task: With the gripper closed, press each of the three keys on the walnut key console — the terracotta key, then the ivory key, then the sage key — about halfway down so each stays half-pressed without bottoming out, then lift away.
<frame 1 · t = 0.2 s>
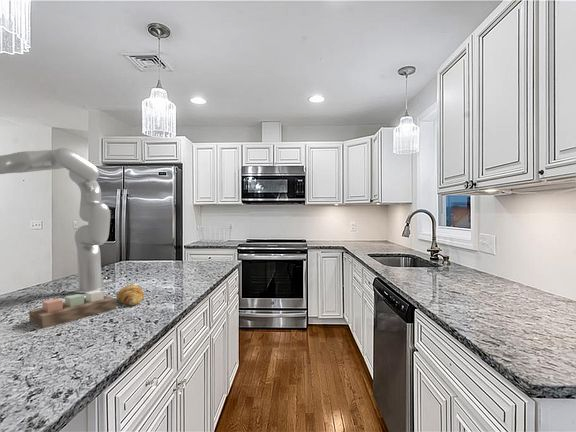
ivory key: (94, 297, 127), point 5 cm above the counter, slide at 0.0 cm
croissant: (130, 301, 138), on the counter
console: (75, 315, 121), on the counter
sage key: (74, 301, 121), point 5 cm above the counter, slide at 0.0 cm
terracotta key: (52, 306, 115), point 5 cm above the counter, slide at 0.0 cm
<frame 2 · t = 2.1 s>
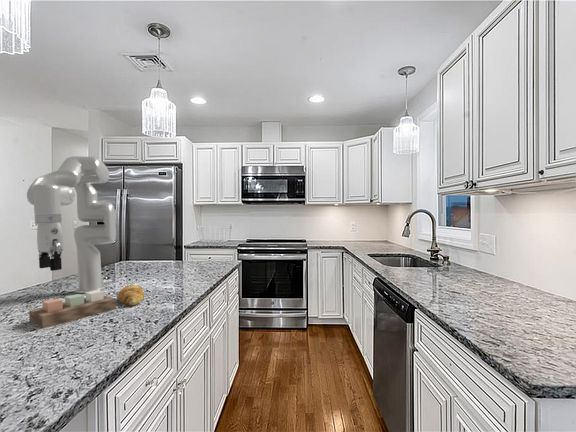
hand: (50, 268, 115), 18 cm above the counter, tool pointing down, fingers open, 9 cm apart
nothing on the counter moved.
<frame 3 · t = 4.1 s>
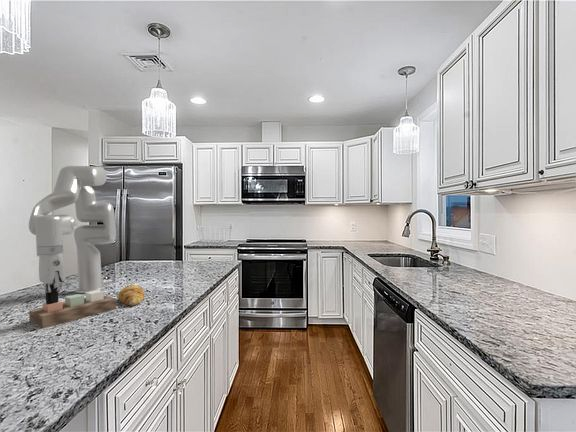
hand: (52, 302, 115), 6 cm above the counter, tool pointing down, fingers closed
terracotta key: (52, 308, 115), point 4 cm above the counter, slide at 0.7 cm, touching gripper
everything else where it was.
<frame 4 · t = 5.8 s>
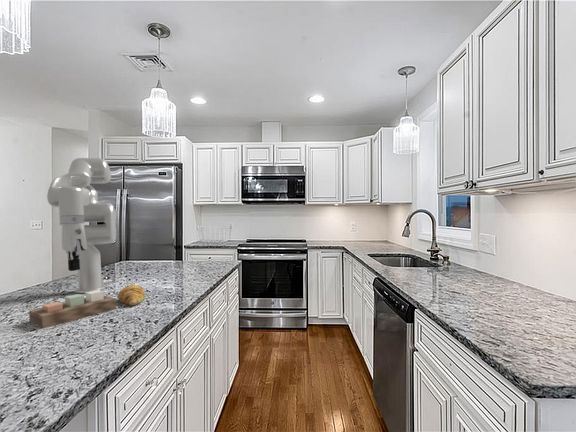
hand: (74, 270, 121), 17 cm above the counter, tool pointing down, fingers closed
terracotta key: (52, 310, 115), point 4 cm above the counter, slide at 1.2 cm
everything else where it was.
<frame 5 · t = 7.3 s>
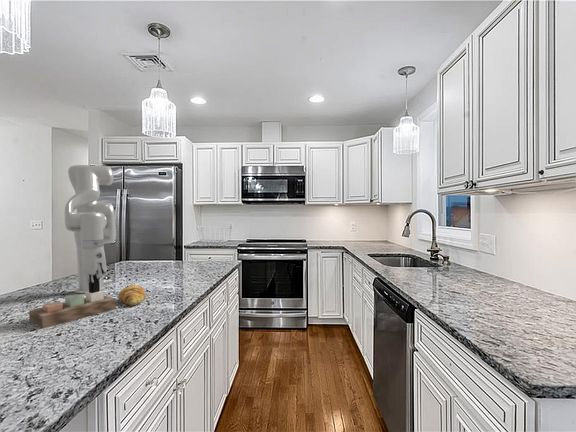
hand: (94, 292, 126), 7 cm above the counter, tool pointing down, fingers closed
ivory key: (94, 297, 127), point 5 cm above the counter, slide at 0.0 cm, touching gripper
everything else where it was.
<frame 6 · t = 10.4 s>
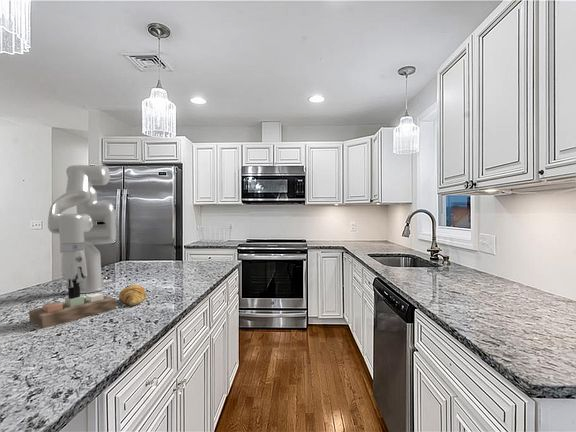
hand: (74, 297, 121), 7 cm above the counter, tool pointing down, fingers closed
ivory key: (94, 300, 127), point 4 cm above the counter, slide at 1.2 cm
sage key: (74, 302, 121), point 5 cm above the counter, slide at 0.5 cm, touching gripper
everything else where it was.
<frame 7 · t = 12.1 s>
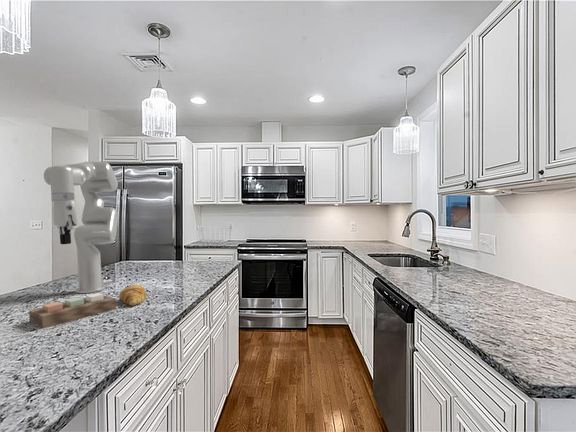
hand: (65, 243, 130), 25 cm above the counter, tool pointing down, fingers closed
sage key: (74, 304, 121), point 4 cm above the counter, slide at 1.2 cm
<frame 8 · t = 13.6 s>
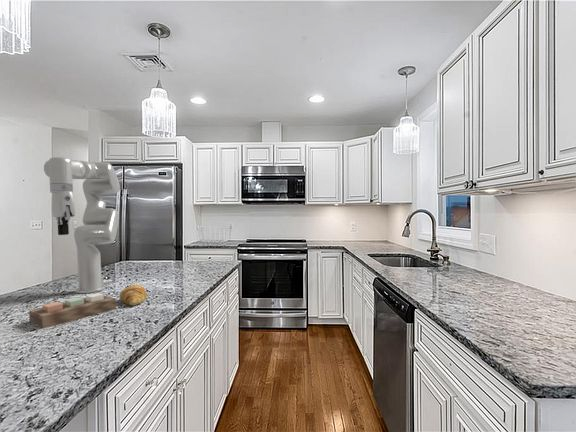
hand: (63, 234, 131), 29 cm above the counter, tool pointing down, fingers closed
at the end: terracotta key slide at 1.2 cm; ivory key slide at 1.2 cm; sage key slide at 1.2 cm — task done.
